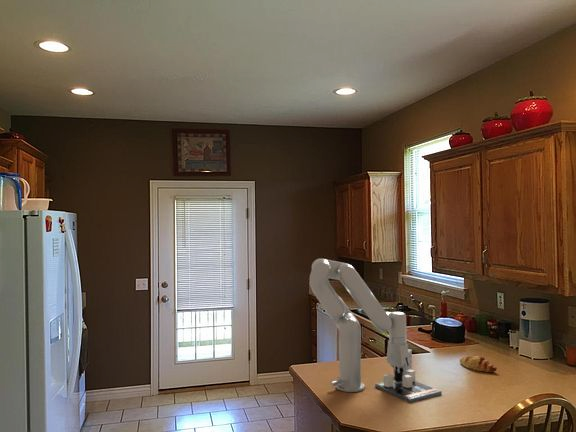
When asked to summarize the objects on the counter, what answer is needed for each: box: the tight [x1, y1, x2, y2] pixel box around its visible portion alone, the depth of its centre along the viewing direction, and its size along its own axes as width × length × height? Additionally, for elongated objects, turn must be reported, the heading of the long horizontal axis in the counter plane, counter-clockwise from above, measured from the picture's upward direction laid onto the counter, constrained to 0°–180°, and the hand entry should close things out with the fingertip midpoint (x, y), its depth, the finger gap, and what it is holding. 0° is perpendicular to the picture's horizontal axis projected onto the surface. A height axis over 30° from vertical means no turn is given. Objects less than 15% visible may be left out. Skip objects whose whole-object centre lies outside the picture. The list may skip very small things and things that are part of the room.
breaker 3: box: [402, 375, 412, 388], centre depth 208 cm, size 3×3×4 cm
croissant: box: [459, 355, 497, 373], centre depth 238 cm, size 21×10×8 cm, turn 33°
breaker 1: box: [382, 373, 394, 387], centre depth 209 cm, size 3×3×4 cm
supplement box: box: [393, 348, 413, 378], centre depth 227 cm, size 7×7×13 cm
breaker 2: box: [406, 369, 416, 382], centre depth 215 cm, size 3×3×4 cm
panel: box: [374, 378, 442, 404], centre depth 208 cm, size 18×22×2 cm
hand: (398, 381), depth 212 cm, fingers closed
